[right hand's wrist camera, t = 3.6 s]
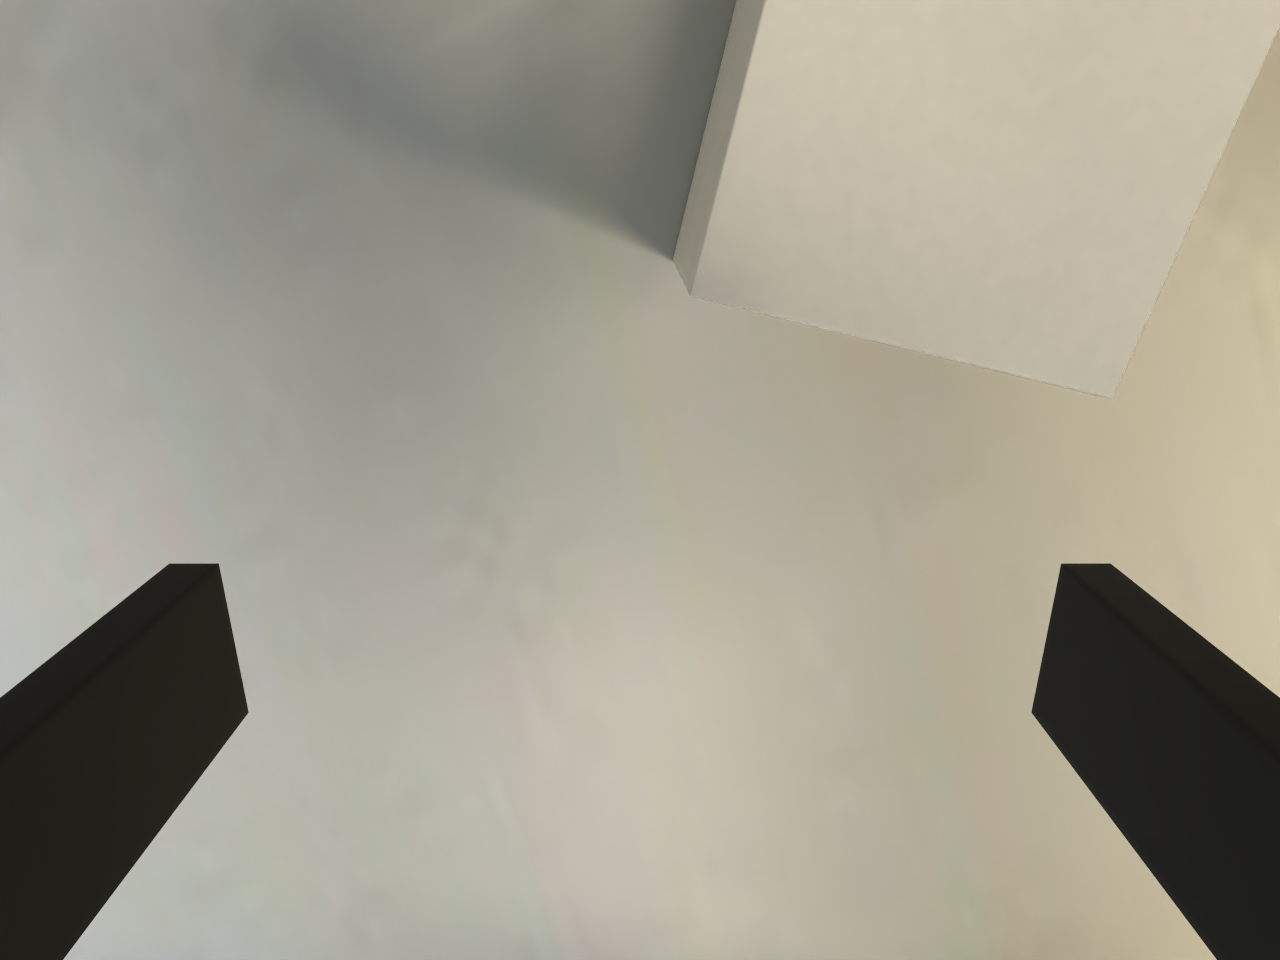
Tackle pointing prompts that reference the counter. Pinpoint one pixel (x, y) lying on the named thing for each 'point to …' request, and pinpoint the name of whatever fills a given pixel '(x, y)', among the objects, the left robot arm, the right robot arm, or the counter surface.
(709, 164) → the cabinet
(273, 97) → the counter surface
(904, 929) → the counter surface
